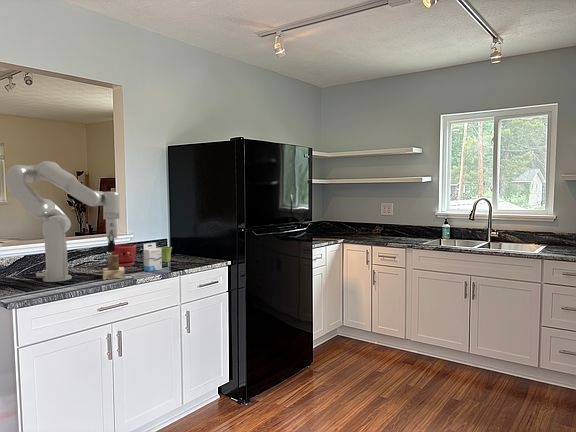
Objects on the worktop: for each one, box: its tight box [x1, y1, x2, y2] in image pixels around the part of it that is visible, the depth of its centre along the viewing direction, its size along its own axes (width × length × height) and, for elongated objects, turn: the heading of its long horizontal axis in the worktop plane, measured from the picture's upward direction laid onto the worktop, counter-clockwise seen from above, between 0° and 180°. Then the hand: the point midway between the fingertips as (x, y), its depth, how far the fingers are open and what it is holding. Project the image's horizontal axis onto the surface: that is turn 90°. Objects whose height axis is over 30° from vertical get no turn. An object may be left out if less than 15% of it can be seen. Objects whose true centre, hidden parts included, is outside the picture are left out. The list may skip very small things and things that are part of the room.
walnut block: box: [107, 254, 119, 271], centre depth 221 cm, size 5×5×7 cm
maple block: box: [102, 267, 126, 281], centre depth 222 cm, size 10×10×4 cm
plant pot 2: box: [157, 246, 173, 263], centre depth 266 cm, size 9×9×9 cm
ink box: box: [143, 242, 163, 272], centre depth 239 cm, size 9×5×15 cm, turn 145°
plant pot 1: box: [111, 244, 137, 268], centre depth 253 cm, size 13×13×12 cm
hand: (111, 249), depth 221 cm, fingers open, 9 cm apart
